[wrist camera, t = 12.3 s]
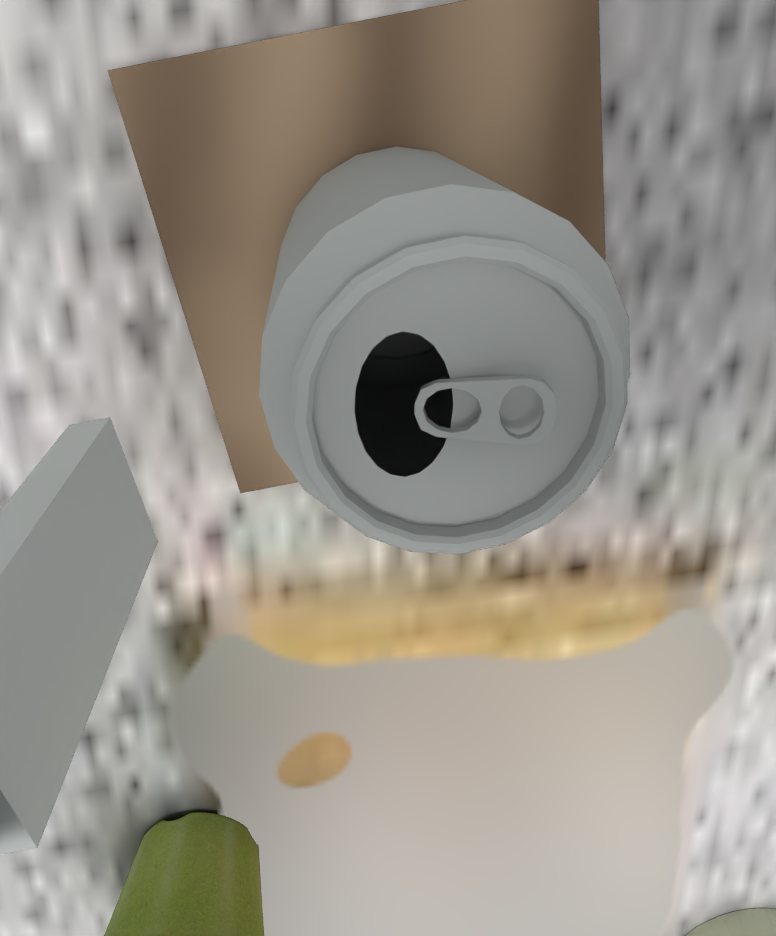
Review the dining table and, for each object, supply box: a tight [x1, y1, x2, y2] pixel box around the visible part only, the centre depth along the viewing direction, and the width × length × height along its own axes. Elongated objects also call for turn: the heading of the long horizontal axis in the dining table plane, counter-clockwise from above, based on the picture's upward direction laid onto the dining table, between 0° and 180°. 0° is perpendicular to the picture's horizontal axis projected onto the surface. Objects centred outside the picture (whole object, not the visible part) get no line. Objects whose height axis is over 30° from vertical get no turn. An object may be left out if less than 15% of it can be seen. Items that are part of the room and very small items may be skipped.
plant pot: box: [104, 812, 264, 936], centre depth 34 cm, size 9×9×9 cm
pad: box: [108, 0, 605, 493], centre depth 24 cm, size 14×14×1 cm
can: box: [259, 146, 630, 554], centre depth 18 cm, size 8×8×12 cm
